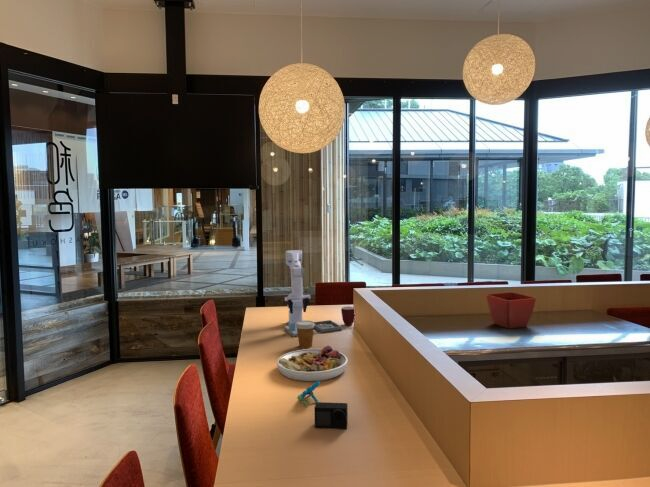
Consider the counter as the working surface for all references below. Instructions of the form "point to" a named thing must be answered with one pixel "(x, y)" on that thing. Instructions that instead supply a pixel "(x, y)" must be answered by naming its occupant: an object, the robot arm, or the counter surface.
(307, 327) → the disposable coffee cup
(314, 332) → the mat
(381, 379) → the counter surface
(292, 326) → the lid
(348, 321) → the mug
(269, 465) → the counter surface
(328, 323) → the grey rectangular tray
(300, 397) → the blue green plastic toy
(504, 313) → the plant pot
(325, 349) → the bowl
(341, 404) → the digital camera
